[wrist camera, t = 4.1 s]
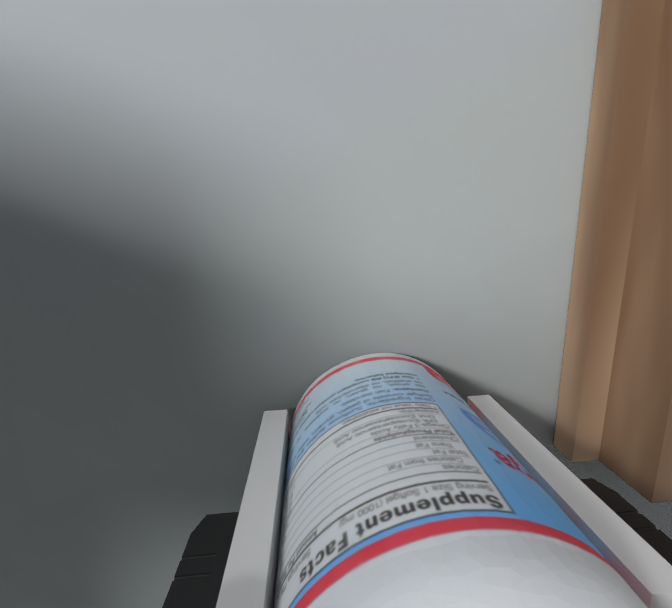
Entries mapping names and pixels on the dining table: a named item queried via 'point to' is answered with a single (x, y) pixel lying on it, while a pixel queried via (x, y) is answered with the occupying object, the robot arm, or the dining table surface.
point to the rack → (624, 260)
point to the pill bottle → (421, 505)
